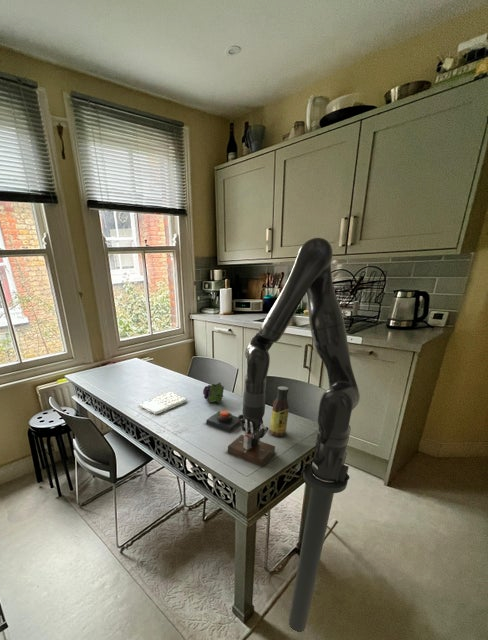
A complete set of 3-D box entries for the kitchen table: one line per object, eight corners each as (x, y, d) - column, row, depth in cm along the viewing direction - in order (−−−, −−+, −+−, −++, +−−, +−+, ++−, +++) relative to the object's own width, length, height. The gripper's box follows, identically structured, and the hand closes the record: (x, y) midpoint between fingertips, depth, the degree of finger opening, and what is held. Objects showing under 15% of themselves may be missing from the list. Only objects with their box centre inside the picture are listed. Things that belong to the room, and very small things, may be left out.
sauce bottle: (279, 438, 125) (284, 392, 116) (266, 432, 129) (270, 388, 121) (289, 433, 129) (294, 388, 120) (276, 427, 133) (280, 383, 125)
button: (230, 415, 136) (230, 411, 135) (225, 418, 134) (225, 415, 133) (223, 413, 138) (223, 409, 137) (218, 416, 136) (218, 412, 135)
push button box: (242, 422, 137) (242, 414, 136) (230, 432, 130) (230, 424, 129) (219, 415, 144) (219, 407, 143) (206, 424, 137) (206, 416, 136)
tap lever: (255, 442, 118) (256, 430, 115) (259, 444, 116) (260, 432, 114) (243, 447, 115) (243, 435, 113) (247, 449, 113) (247, 437, 111)
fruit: (212, 400, 166) (230, 403, 153) (195, 402, 160) (212, 405, 148) (211, 381, 165) (230, 382, 152) (194, 382, 159) (212, 384, 147)
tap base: (274, 452, 116) (275, 445, 115) (261, 466, 109) (262, 459, 108) (241, 440, 124) (241, 434, 123) (227, 452, 117) (227, 445, 116)
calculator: (187, 401, 158) (187, 398, 158) (155, 415, 146) (155, 411, 146) (170, 394, 167) (170, 391, 167) (139, 406, 155) (138, 402, 155)
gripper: (277, 406, 104) (272, 450, 112) (248, 392, 115) (246, 433, 122) (260, 412, 101) (256, 457, 108) (232, 397, 111) (231, 439, 119)
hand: (251, 444), depth 115 cm, fingers closed on tap lever, 2 cm apart
